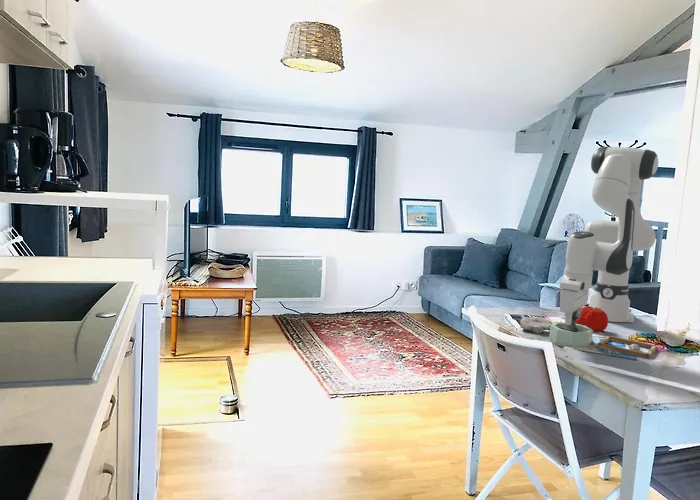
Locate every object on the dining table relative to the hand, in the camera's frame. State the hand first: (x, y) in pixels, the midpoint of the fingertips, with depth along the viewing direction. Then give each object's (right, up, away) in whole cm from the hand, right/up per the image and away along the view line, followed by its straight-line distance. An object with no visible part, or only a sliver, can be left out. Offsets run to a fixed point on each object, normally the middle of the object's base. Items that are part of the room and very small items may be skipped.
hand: (572, 321), depth 187 cm
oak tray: (+16, -9, -5) cm, 19 cm away
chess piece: (-2, -6, -1) cm, 6 cm away
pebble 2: (+17, -9, -10) cm, 22 cm away
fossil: (-8, -5, +15) cm, 17 cm away
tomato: (+14, -6, +18) cm, 23 cm away
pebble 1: (+18, -8, -8) cm, 22 cm away
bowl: (-1, -7, +1) cm, 8 cm away
